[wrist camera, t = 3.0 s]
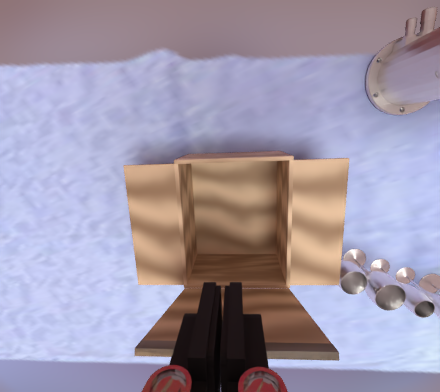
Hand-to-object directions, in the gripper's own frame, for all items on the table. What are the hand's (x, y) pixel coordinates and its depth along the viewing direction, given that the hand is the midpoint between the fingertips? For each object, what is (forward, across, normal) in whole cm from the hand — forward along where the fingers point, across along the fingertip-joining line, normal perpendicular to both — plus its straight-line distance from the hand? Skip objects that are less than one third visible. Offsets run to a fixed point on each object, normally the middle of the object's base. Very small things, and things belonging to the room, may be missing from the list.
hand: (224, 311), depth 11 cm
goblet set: (+41, -31, +21) cm, 55 cm away
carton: (+41, 0, +7) cm, 41 cm away
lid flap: (+19, 0, +14) cm, 24 cm away
